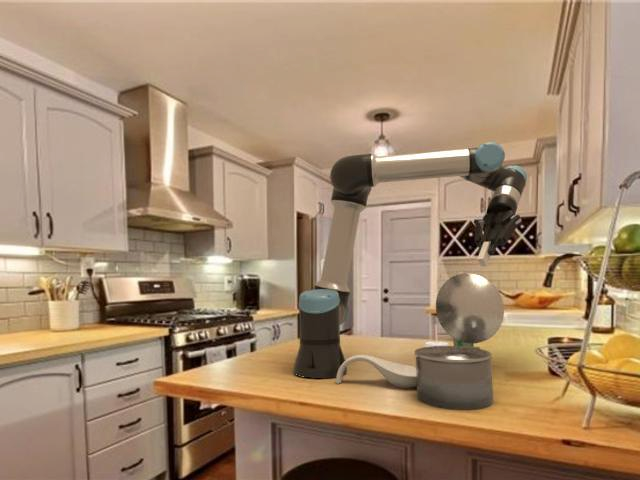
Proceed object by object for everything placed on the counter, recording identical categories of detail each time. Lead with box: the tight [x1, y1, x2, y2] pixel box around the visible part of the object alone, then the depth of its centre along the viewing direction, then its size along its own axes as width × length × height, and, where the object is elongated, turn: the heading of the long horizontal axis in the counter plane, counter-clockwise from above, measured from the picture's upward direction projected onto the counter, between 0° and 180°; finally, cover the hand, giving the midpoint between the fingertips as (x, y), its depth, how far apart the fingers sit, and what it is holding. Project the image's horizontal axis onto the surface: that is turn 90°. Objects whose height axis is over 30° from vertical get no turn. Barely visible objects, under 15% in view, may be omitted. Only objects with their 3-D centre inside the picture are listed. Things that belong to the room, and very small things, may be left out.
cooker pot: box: [414, 345, 494, 411], centre depth 92 cm, size 18×16×10 cm
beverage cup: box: [424, 323, 450, 347], centre depth 110 cm, size 6×6×14 cm
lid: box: [435, 272, 505, 344], centre depth 99 cm, size 17×17×3 cm
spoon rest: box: [335, 354, 417, 389], centre depth 104 cm, size 24×12×7 cm, turn 79°
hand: (482, 262), depth 105 cm, fingers closed
